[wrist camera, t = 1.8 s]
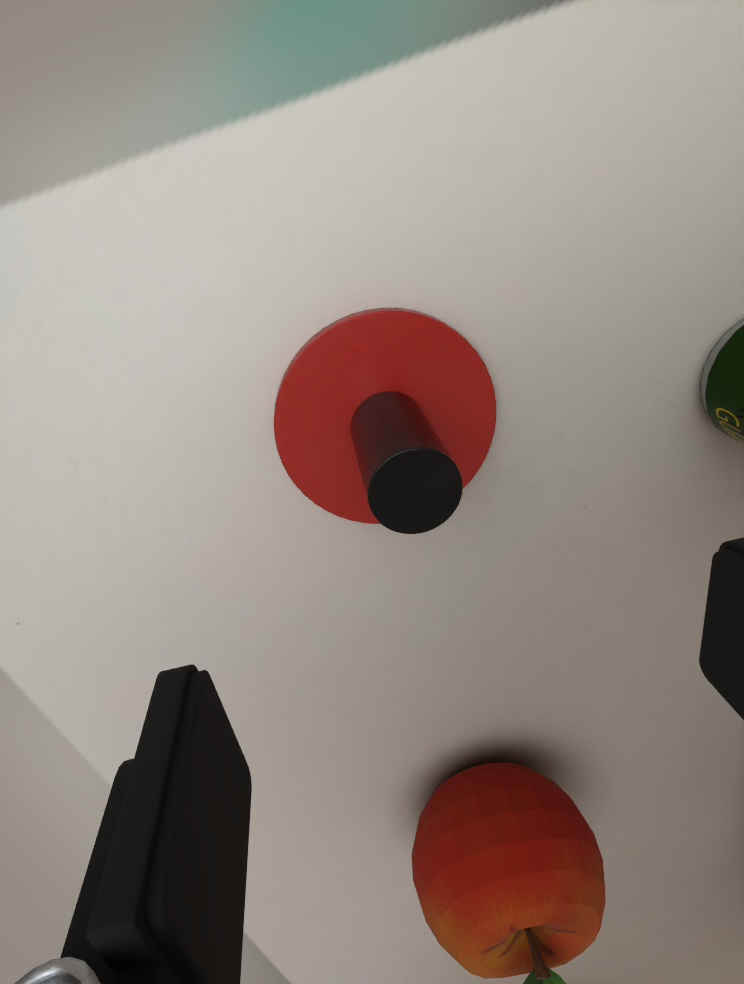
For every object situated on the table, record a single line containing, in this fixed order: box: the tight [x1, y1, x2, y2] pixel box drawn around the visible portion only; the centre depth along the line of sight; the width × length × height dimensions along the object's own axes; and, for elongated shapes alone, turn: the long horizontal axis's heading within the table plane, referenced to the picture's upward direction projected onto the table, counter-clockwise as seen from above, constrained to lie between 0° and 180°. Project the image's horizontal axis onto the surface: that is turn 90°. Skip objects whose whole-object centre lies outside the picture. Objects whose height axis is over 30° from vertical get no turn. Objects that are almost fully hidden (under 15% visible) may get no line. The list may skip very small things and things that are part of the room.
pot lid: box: [274, 308, 496, 534], centre depth 19 cm, size 8×8×6 cm
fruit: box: [412, 762, 605, 984], centre depth 28 cm, size 10×10×10 cm
